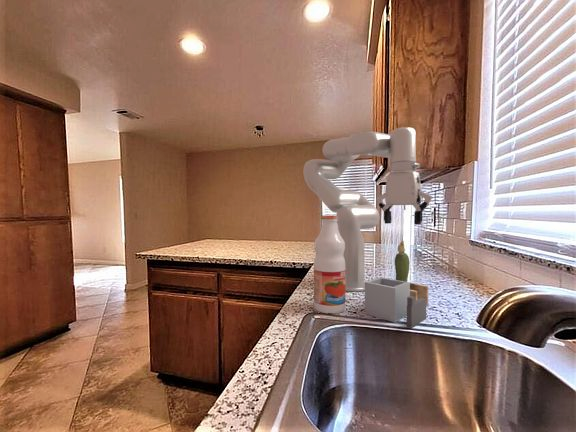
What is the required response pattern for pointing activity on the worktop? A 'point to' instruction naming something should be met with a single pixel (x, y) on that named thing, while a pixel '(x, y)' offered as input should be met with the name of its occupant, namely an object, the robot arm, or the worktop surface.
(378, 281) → the grey open box
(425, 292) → the holder
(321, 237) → the fruit juice
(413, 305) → the grey square panel
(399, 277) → the vegetable
